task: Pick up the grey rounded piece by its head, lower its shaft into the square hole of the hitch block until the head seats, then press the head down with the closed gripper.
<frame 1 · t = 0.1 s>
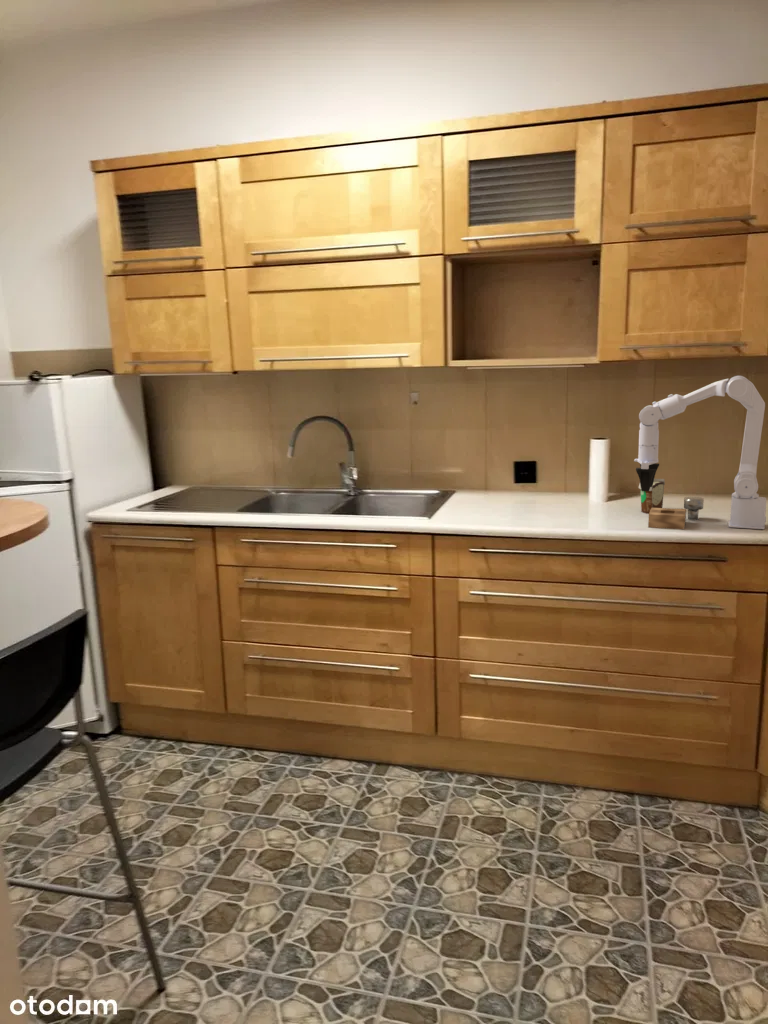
hand: (647, 488, 229), 10 cm above the worktop, fingers open, 7 cm apart
hitch block: (666, 524, 225), on the worktop
food container: (647, 511, 245), on the worktop
grey rounded piece: (692, 518, 231), on the worktop
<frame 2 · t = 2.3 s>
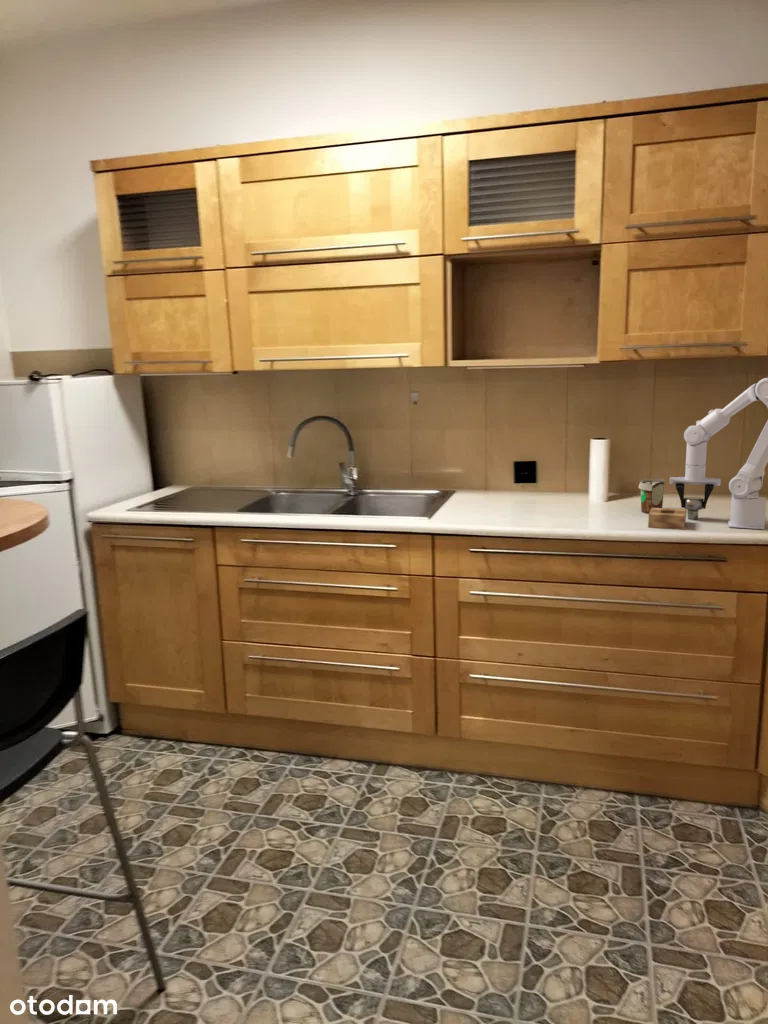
hand: (693, 507, 230), 4 cm above the worktop, fingers closed on grey rounded piece, 6 cm apart
grey rounded piece: (692, 518, 231), on the worktop, touching gripper
everything else where it was.
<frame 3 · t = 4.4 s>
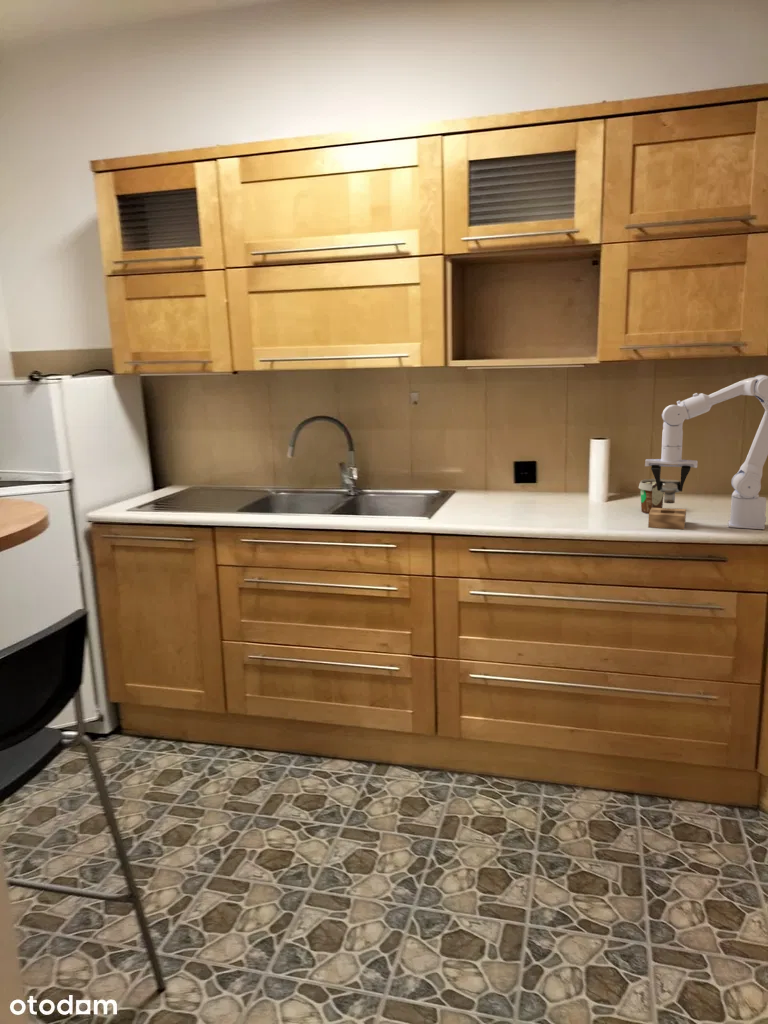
hand: (669, 490, 223), 10 cm above the worktop, fingers closed on grey rounded piece, 6 cm apart
grey rounded piece: (669, 502, 224), point 7 cm above the worktop, touching gripper
everything else where it was.
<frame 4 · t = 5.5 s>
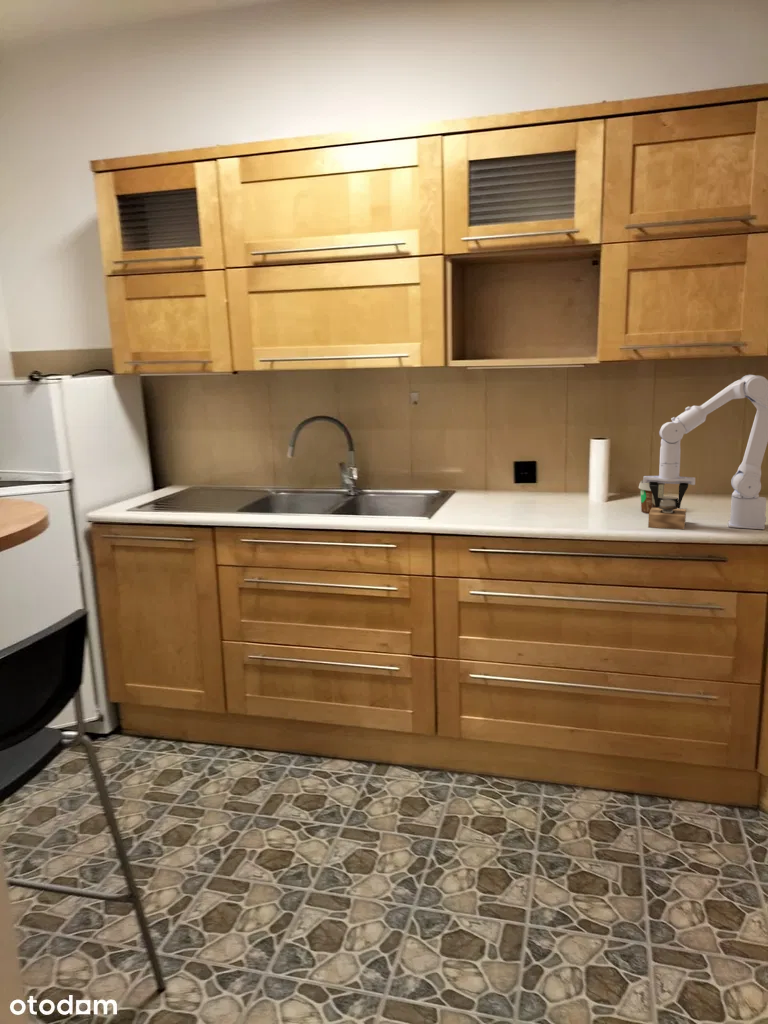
hand: (667, 507, 224), 5 cm above the worktop, fingers closed on grey rounded piece, 6 cm apart
grey rounded piece: (667, 519, 225), point 2 cm above the worktop, touching gripper
everything else where it was.
when the fingers open (5 cm above the worktop, at t = 6.4 s): grey rounded piece drops 1 cm, resting on hitch block.
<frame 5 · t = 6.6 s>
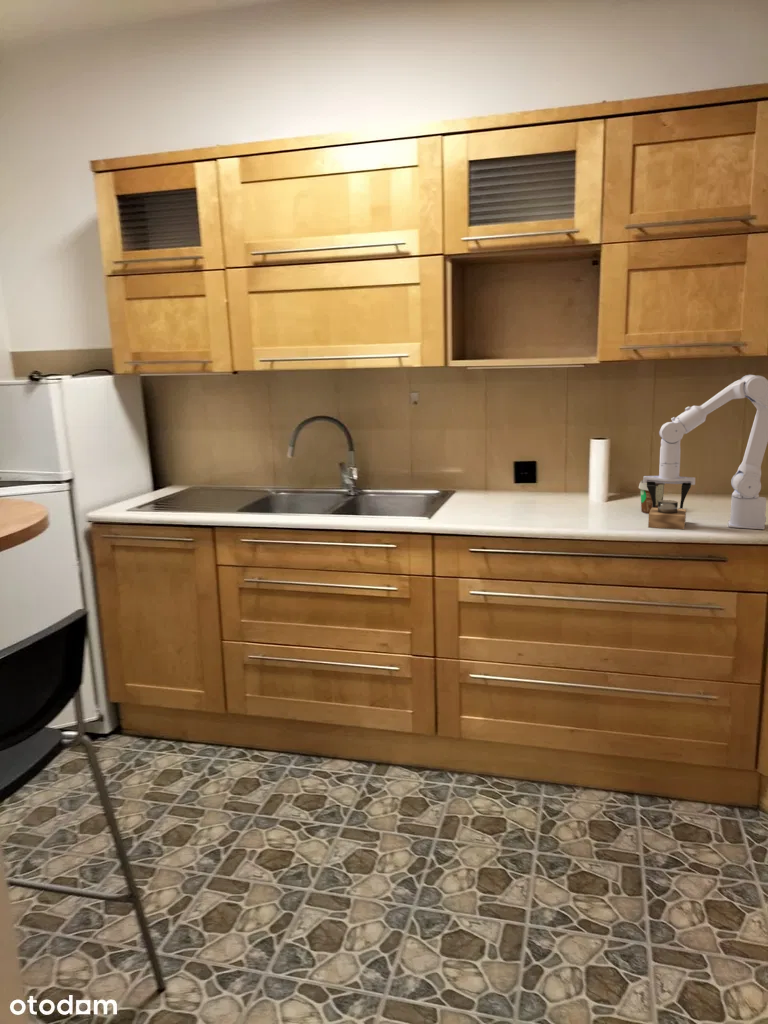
hand: (667, 507, 224), 5 cm above the worktop, fingers open, 7 cm apart
grey rounded piece: (667, 522, 225), resting on hitch block
everything else where it was.
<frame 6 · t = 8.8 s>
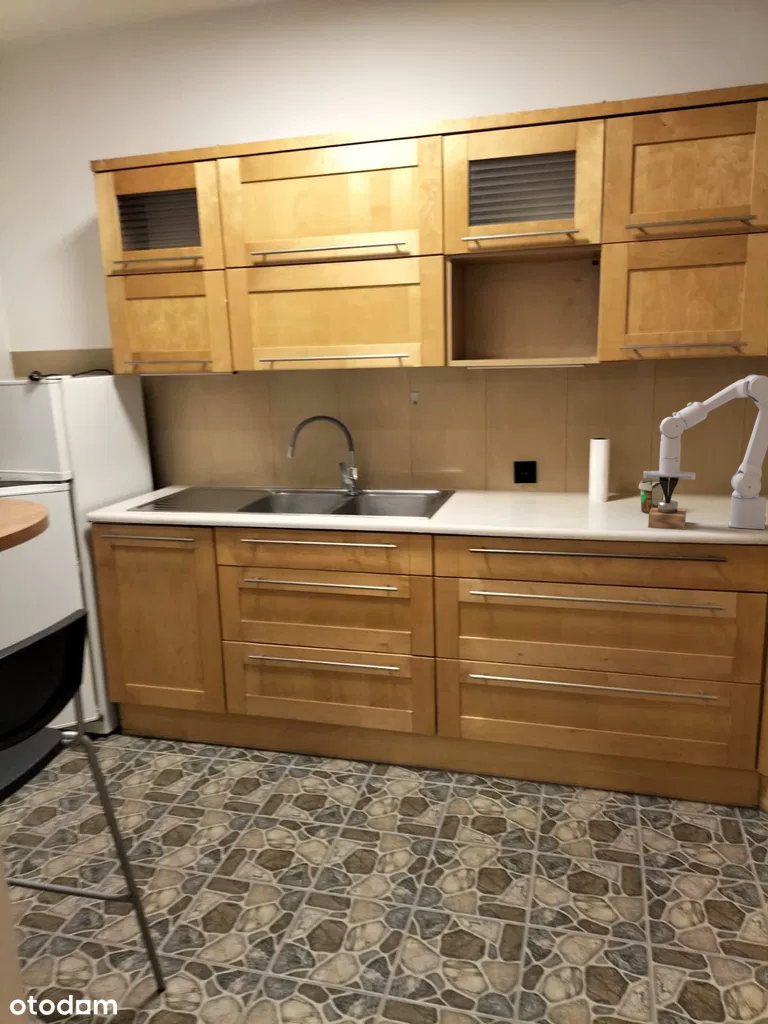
hand: (667, 502, 224), 7 cm above the worktop, fingers closed, pressing on grey rounded piece
grey rounded piece: (667, 522, 225), resting on hitch block, touching gripper
everything else where it was.
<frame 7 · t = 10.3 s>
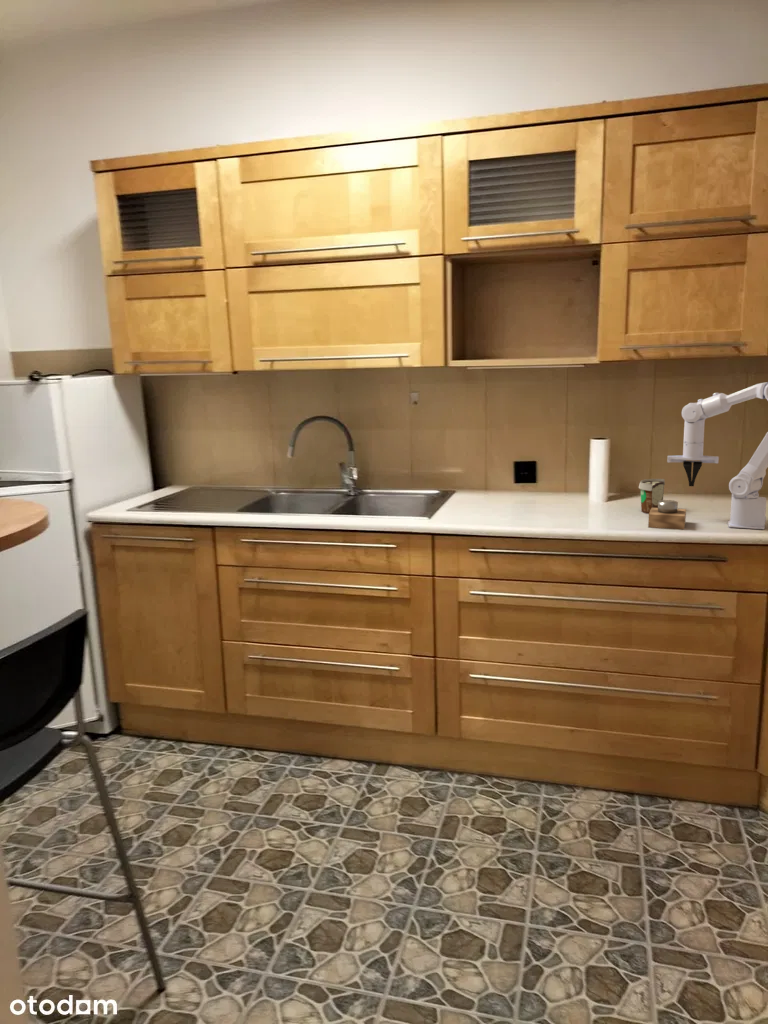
hand: (691, 485, 230), 10 cm above the worktop, fingers closed
grey rounded piece: (667, 522, 225), resting on hitch block
everything else where it was.
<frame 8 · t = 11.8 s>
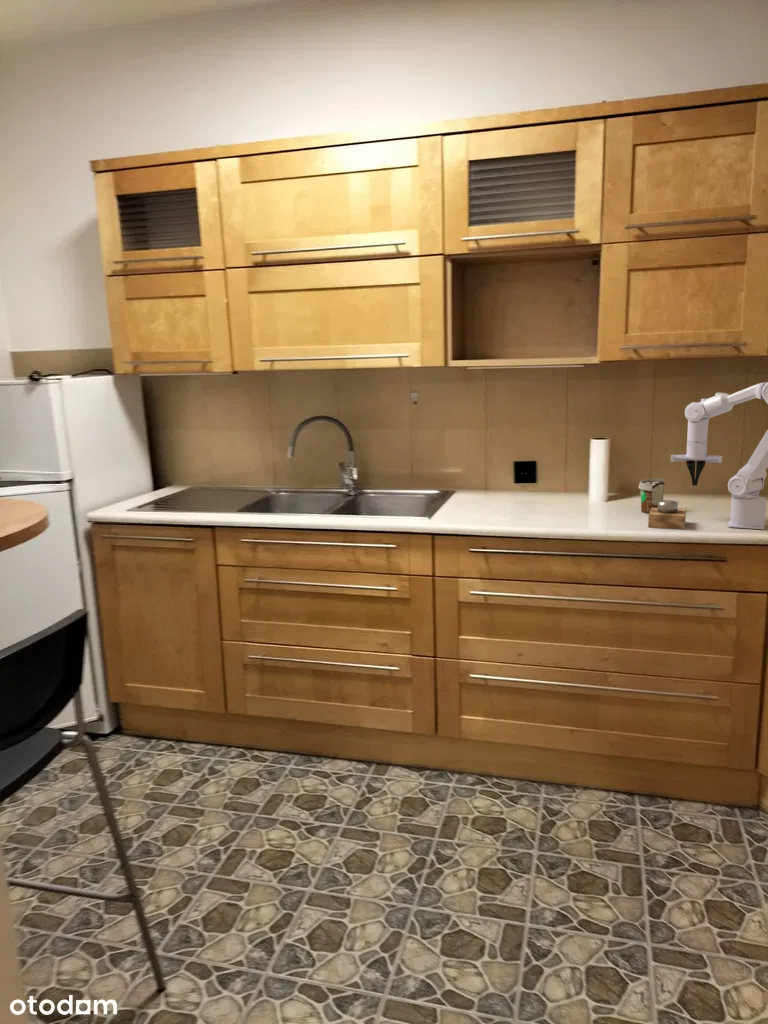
hand: (694, 484, 231), 10 cm above the worktop, fingers closed
nothing on the worktop moved.
at the end: grey rounded piece 0.3 cm off-centre on the hitch block, point 0.5 cm above the hitch block's base; grey rounded piece tilted 0°; the gripper is holding nothing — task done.
